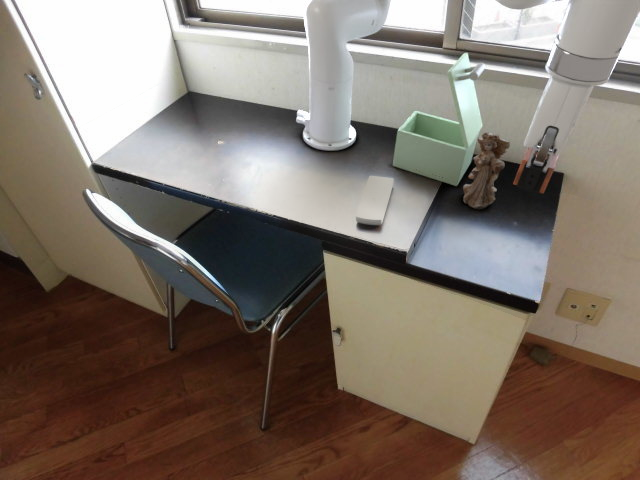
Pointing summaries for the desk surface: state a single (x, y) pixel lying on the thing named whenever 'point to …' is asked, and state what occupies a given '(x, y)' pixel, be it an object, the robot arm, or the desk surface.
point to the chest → (432, 148)
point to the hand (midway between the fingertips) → (531, 179)
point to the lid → (466, 97)
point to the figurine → (485, 171)
